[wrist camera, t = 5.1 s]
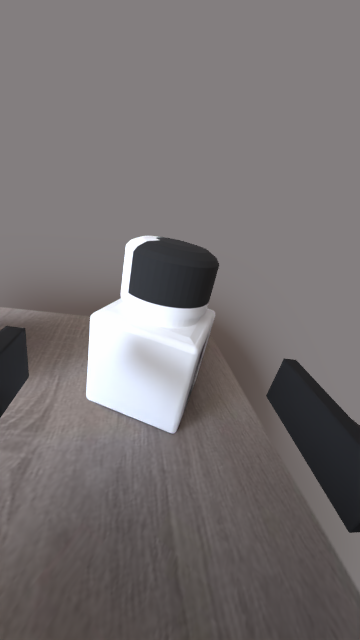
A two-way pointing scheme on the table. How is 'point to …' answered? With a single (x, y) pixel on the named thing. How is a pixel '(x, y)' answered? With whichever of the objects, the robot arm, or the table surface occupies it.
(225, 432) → the table surface
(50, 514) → the table surface
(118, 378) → the container
